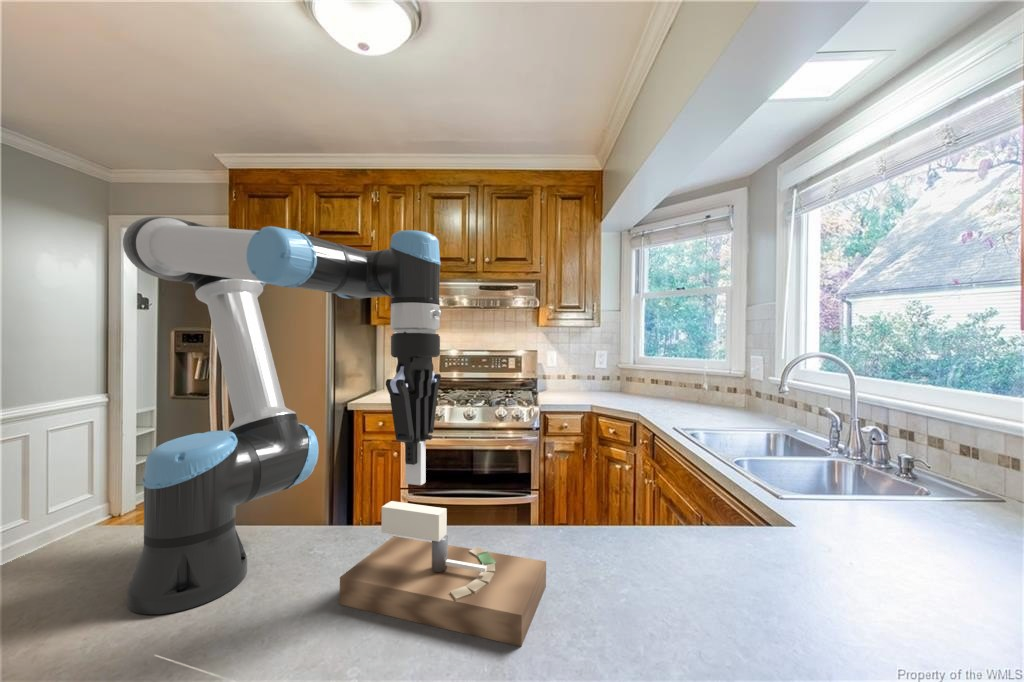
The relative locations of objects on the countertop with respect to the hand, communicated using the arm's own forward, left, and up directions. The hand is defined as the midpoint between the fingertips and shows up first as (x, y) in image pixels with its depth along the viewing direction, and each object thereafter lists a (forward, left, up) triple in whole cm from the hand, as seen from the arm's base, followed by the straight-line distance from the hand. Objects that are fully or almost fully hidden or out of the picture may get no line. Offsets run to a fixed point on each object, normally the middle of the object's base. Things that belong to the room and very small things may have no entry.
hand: (415, 482), depth 66 cm
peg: (+4, 0, -13) cm, 13 cm away
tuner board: (+5, +1, -17) cm, 18 cm away
